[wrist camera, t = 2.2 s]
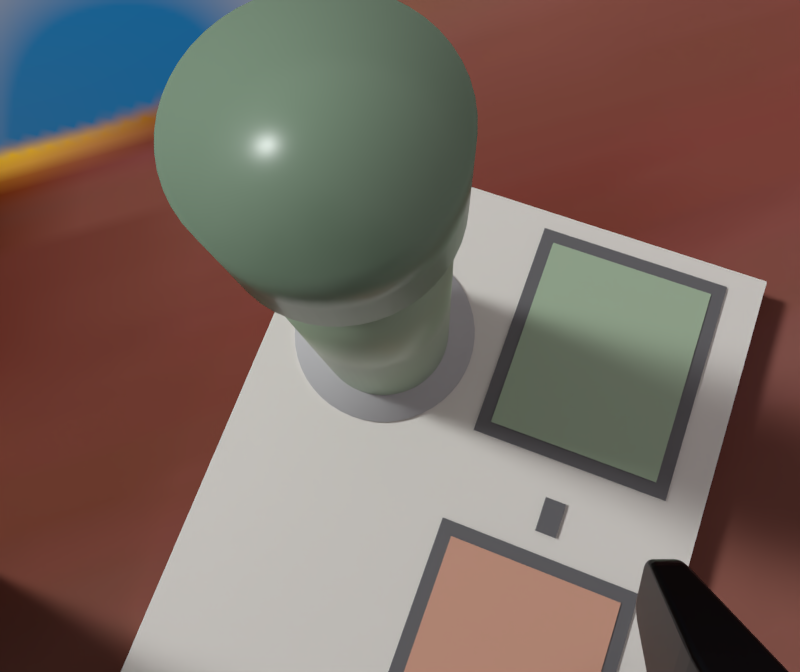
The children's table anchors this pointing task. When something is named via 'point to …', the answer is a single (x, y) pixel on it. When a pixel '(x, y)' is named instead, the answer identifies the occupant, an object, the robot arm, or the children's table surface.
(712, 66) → the children's table surface
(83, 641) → the children's table surface
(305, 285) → the green joystick knob
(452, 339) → the white flat rectangular board
